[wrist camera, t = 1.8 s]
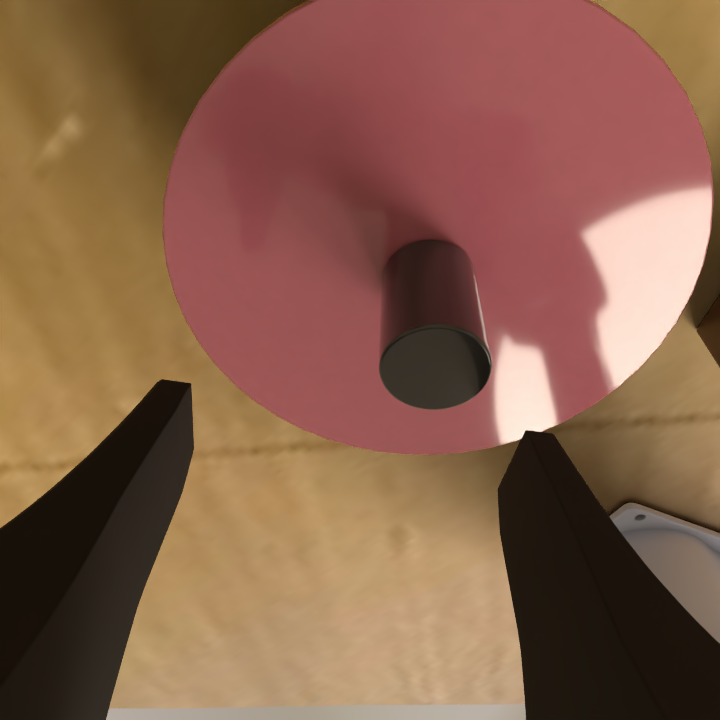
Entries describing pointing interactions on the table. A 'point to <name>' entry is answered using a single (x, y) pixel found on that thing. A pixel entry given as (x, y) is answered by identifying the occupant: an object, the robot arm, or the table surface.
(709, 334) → the block
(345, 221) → the lid
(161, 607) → the table surface
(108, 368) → the table surface
